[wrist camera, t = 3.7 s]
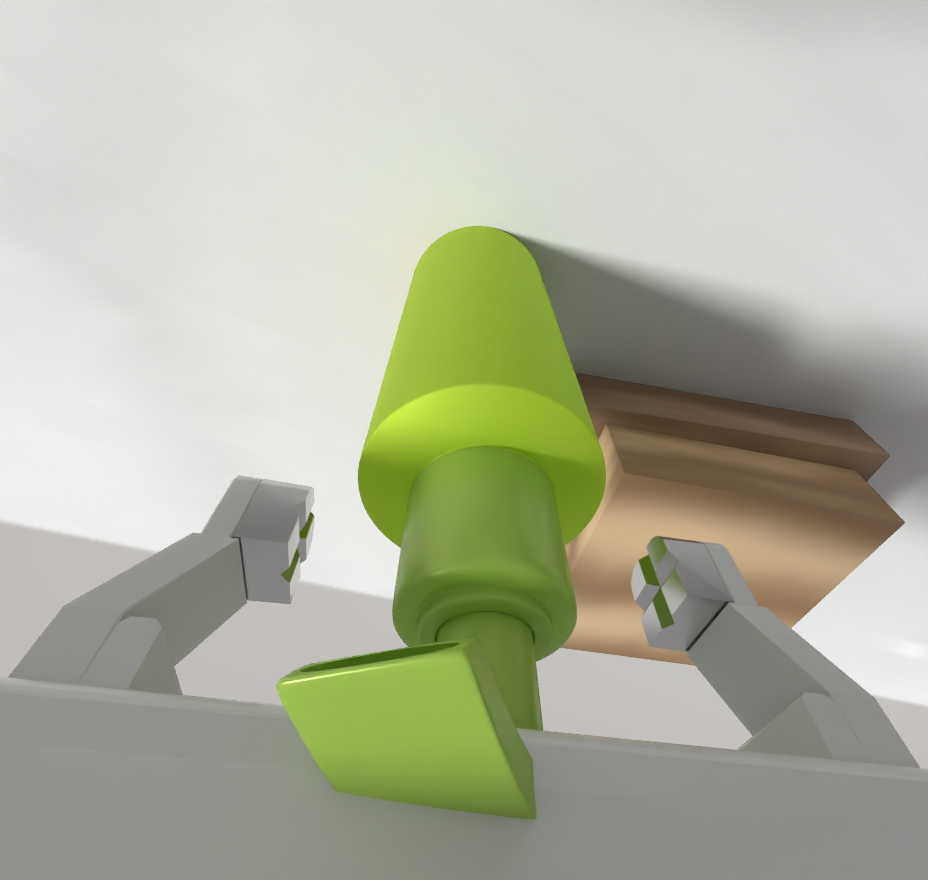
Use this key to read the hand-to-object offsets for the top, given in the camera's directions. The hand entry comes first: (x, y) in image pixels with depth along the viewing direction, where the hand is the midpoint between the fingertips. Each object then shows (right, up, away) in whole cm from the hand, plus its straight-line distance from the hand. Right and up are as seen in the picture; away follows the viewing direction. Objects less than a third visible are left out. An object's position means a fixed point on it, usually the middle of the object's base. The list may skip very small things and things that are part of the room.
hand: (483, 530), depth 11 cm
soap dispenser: (0, +9, +11) cm, 15 cm away
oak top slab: (+11, -3, +17) cm, 20 cm away
